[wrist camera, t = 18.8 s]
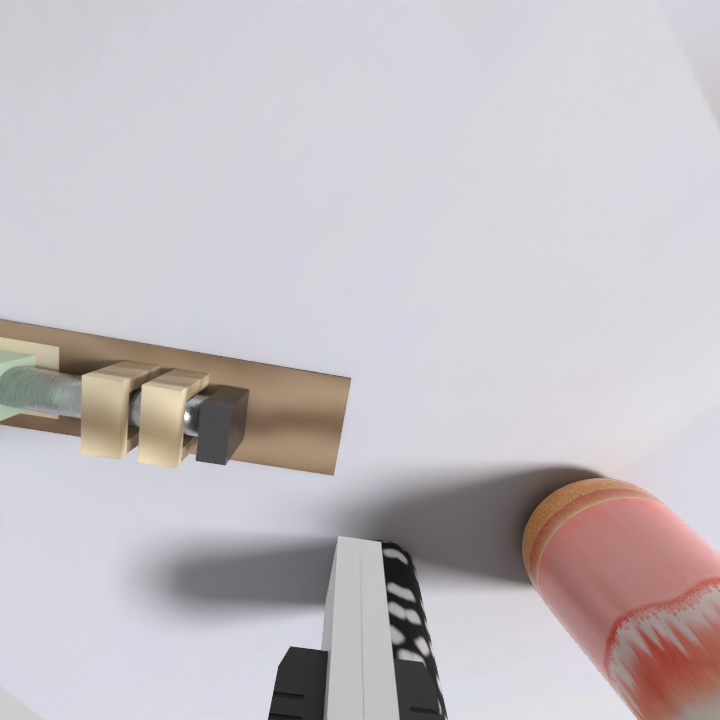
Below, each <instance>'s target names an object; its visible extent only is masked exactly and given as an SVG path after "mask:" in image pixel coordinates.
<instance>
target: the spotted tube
mask: <svg viewBox="0 0 720 720" xmlns="http://www.w3.org/2000/svg"><path fill="white" fill-rule="evenodd" d="M378 542H381V547H382V557H383V566H384V576H385V585H386V595H387V604H388V614H389V623H390V633H391V643H392V652H393V658H396V659H403V660H411V661H419V662H423V663H424V665H425V667H426V669H427V671H428V673H429V675H430V676H431V678H432V680H433V682H434V684H435V688H436V693H437V698H438V703H439V708H440V715H441V718H442V720H448V718H447V713H446V708H445V704H444V699H443V694H442V690H441V685H440V680H439V676H438V671H437V667H436V662H435V657H434V653H433V648H432V643H431V639H430V634H429V630H428V625H427V620H426V616H425V611H424V606H423V602H422V597H421V592H420V588H419V583H418V579H417V574H416V569H415V565H414V562H413V560H412V558H411V556H410V555H409V554H408V553H407V551H405V550H404V549H403V548H402V547H400V546H398V545H396V544H394V543H391V542H388V541H381V540H378Z"/></svg>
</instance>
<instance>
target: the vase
mask: <svg viewBox="0 0 720 720" xmlns="http://www.w3.org/2000/svg"><path fill="white" fill-rule="evenodd" d="M522 556H523V562H524V566H525V569H526V572H527V574H528V577H529V579H530V581H531V583H532V584H533V586H534V588H535V589H536V591H537V592H538V594H539V595H540V597H541V598H542V600H543V601H544V602H545V604H546V605H547V606H548V608H549V609H550V610H551V612H552V613H553V614H554V616H555V617H556V618H557V620H558V621H559V622H560V623H561V625H562V626H563V627H564V628H565V630H566V631H567V632H568V633H569V635H570V636H571V637H572V638H573V639H574V641H575V642H576V643H577V644H578V646H579V647H580V648H581V649H582V651H583V652H584V653H585V654H586V656H587V657H588V658H589V659H590V661H591V662H592V663H593V664H594V666H595V667H596V668H597V669H598V671H599V672H600V673H601V674H602V676H603V677H604V678H605V679H606V681H607V682H608V683H609V684H610V686H611V687H612V688H613V689H614V691H615V692H616V693H617V694H618V696H619V697H620V698H621V699H622V701H623V702H624V703H625V704H626V706H627V707H628V708H629V709H630V711H631V712H632V713H633V714H634V716H635V717H636V718H637V719H638V720H720V554H719V553H718V552H717V551H716V550H714V549H713V548H712V547H711V546H710V545H709V544H708V543H707V542H706V541H705V540H704V539H703V538H702V537H700V536H699V535H698V534H697V533H696V532H695V531H694V530H693V529H692V528H691V527H690V526H689V525H688V524H686V523H685V522H684V521H683V520H682V519H681V518H680V517H679V516H677V515H676V514H675V513H674V512H673V511H672V510H670V509H669V508H668V507H667V506H666V505H664V504H663V503H662V502H661V501H659V500H658V499H657V498H656V497H654V496H653V495H651V494H650V493H648V492H647V491H645V490H643V489H641V488H639V487H637V486H635V485H633V484H630V483H627V482H624V481H620V480H615V479H608V478H592V479H585V480H580V481H577V482H573V483H570V484H568V485H565V486H563V487H561V488H559V489H558V490H556V491H554V492H553V493H551V494H550V495H549V496H547V497H546V498H545V499H544V500H543V501H542V502H541V503H540V504H539V505H538V506H537V508H536V509H535V510H534V512H533V513H532V515H531V516H530V518H529V520H528V522H527V525H526V527H525V530H524V534H523V539H522Z"/></svg>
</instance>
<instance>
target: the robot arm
mask: <svg viewBox="0 0 720 720" xmlns="http://www.w3.org/2000/svg"><path fill="white" fill-rule="evenodd" d="M268 720H442V718H441V715H440V708H439V703H438V698H437V693H436V688H435V684H434V682H433V680H432V678H431V676H430V675H429V673H428V671H427V669H426V667H425V665H424V663H423V662H419V661H411V660H403V659H396V658H393V652H392V643H391V633H390V623H389V614H388V604H387V595H386V585H385V576H384V566H383V557H382V547H381V542H378V541H371V540H364V539H357V538H350V537H343V536H338V540H337V545H336V550H335V555H334V560H333V566H332V571H331V576H330V581H329V587H328V592H327V597H326V604H325V615H324V626H323V638H322V649H321V650H315V649H307V648H299V647H291V646H290V648H289V650H288V651H287V653H286V655H285V656H284V658H283V660H282V661H281V663H280V665H279V666H278V671H277V676H276V681H275V686H274V691H273V697H272V702H271V707H270V712H269V717H268Z"/></svg>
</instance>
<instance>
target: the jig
mask: <svg viewBox="0 0 720 720" xmlns="http://www.w3.org/2000/svg"><path fill="white" fill-rule="evenodd" d="M0 350H6V351H12V352H18V353H24V354H30V355H36V368H38V369H44V370H50V371H56V372H62V373H69V374H75V375H81V376H82V402H81V418H75V417H69V416H62V415H56V414H49V413H43V412H37V411H30V410H27V411H25V412H22V413H20V414H17V415H15V416H12V417H9V418H7V419H4V420H2V421H0V424H1V425H7V426H14V427H20V428H27V429H34V430H40V431H47V432H53V433H60V434H66V435H73V436H79V437H81V454H86V455H92V456H99V457H105V458H112V459H120V458H121V457H123V456H124V455H125V454H127V453H128V452H129V451H131V450H132V449H133V448H135V447H136V446H137V445H138V446H139V447H138V462H139V463H145V464H152V465H158V466H165V467H172V468H176V467H177V466H178V465H179V464H180V463H181V462H182V460H183V459H184V458H185V457H186V456H187V455H188V454H189V453H190V454H196V453H197V442H198V437H197V436H191V435H184V434H183V432H184V420H185V407H186V401H188V400H189V399H190V398H192V397H193V396H195V395H196V394H198V395H204V396H211V395H212V394H213V393H215V392H216V391H217V390H219V389H220V388H221V387H222V386H230V387H236V388H242V389H248V390H250V391H249V399H248V407H247V416H246V424H245V433H244V440H243V441H242V442H241V444H240V445H239V447H238V448H237V449H236V451H235V452H234V454H233V455H232V457H231V458H230V459H229V460H236V461H242V462H249V463H255V464H262V465H268V466H275V467H281V468H288V469H294V470H301V471H307V472H314V473H321V474H327V475H334V471H335V465H336V460H337V454H338V449H339V443H340V438H341V432H342V426H343V421H344V415H345V410H346V404H347V399H348V393H349V387H350V382H351V378H347V377H341V376H335V375H330V374H324V373H318V372H312V371H306V370H300V369H294V368H288V367H282V366H276V365H270V364H264V363H258V362H252V361H246V360H240V359H234V358H229V357H223V356H217V355H211V354H205V353H199V352H193V351H187V350H181V349H175V348H169V347H163V346H157V345H151V344H145V343H139V342H133V341H128V340H122V339H116V338H110V337H104V336H98V335H92V334H86V333H80V332H74V331H68V330H62V329H56V328H50V327H44V326H38V325H33V324H27V323H21V322H15V321H9V320H3V319H0ZM140 387H142V392H141V410H140V428H139V427H133V426H128V410H129V392H131V391H133V390H135V389H138V388H140Z"/></svg>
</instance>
